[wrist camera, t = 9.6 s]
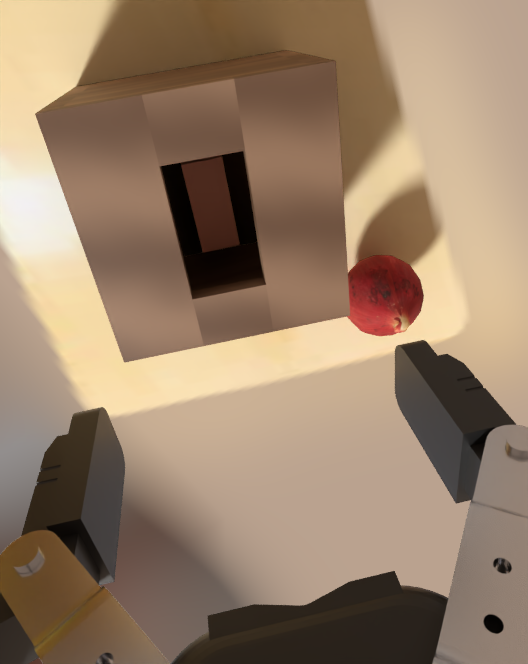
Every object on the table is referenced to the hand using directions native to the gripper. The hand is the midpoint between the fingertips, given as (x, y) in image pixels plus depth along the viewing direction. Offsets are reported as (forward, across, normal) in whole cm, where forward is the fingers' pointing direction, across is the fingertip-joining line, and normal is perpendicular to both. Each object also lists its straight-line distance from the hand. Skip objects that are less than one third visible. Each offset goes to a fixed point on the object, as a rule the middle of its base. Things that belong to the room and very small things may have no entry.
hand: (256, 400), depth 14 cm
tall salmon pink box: (+22, 0, +4) cm, 22 cm away
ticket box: (+24, 0, 0) cm, 24 cm away
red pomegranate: (+24, -11, +10) cm, 29 cm away
